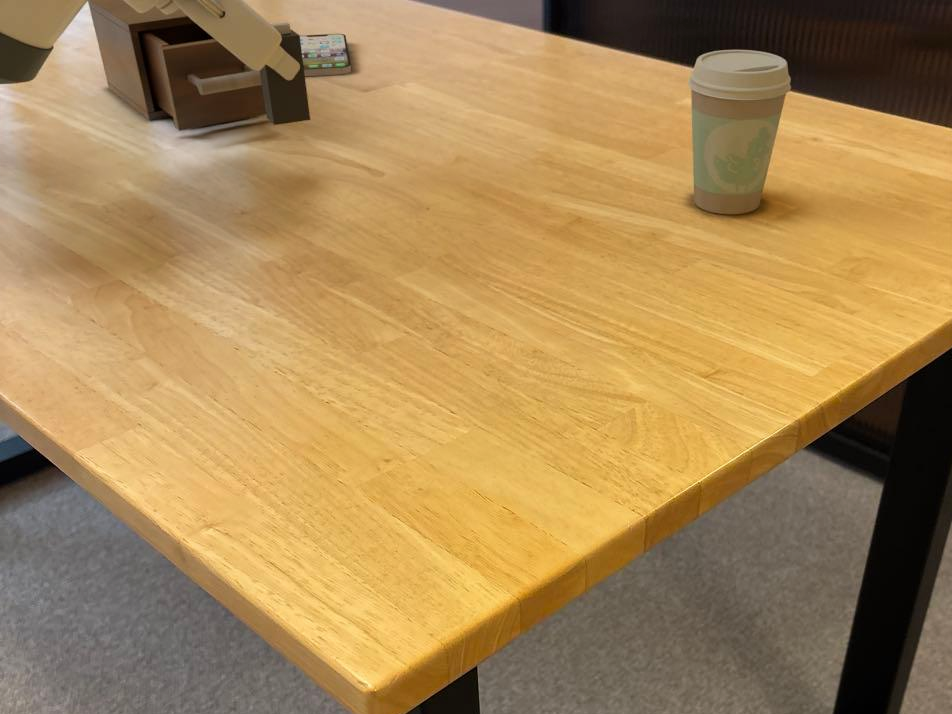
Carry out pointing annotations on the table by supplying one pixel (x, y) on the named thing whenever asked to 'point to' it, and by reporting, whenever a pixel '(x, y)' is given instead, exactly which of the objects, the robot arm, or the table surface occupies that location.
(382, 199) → the table surface
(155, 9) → the cabinet
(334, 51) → the smartphone
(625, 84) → the table surface
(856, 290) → the table surface
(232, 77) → the drawer
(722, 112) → the coffee cup
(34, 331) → the table surface
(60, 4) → the robot arm
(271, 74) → the dark block with cap
